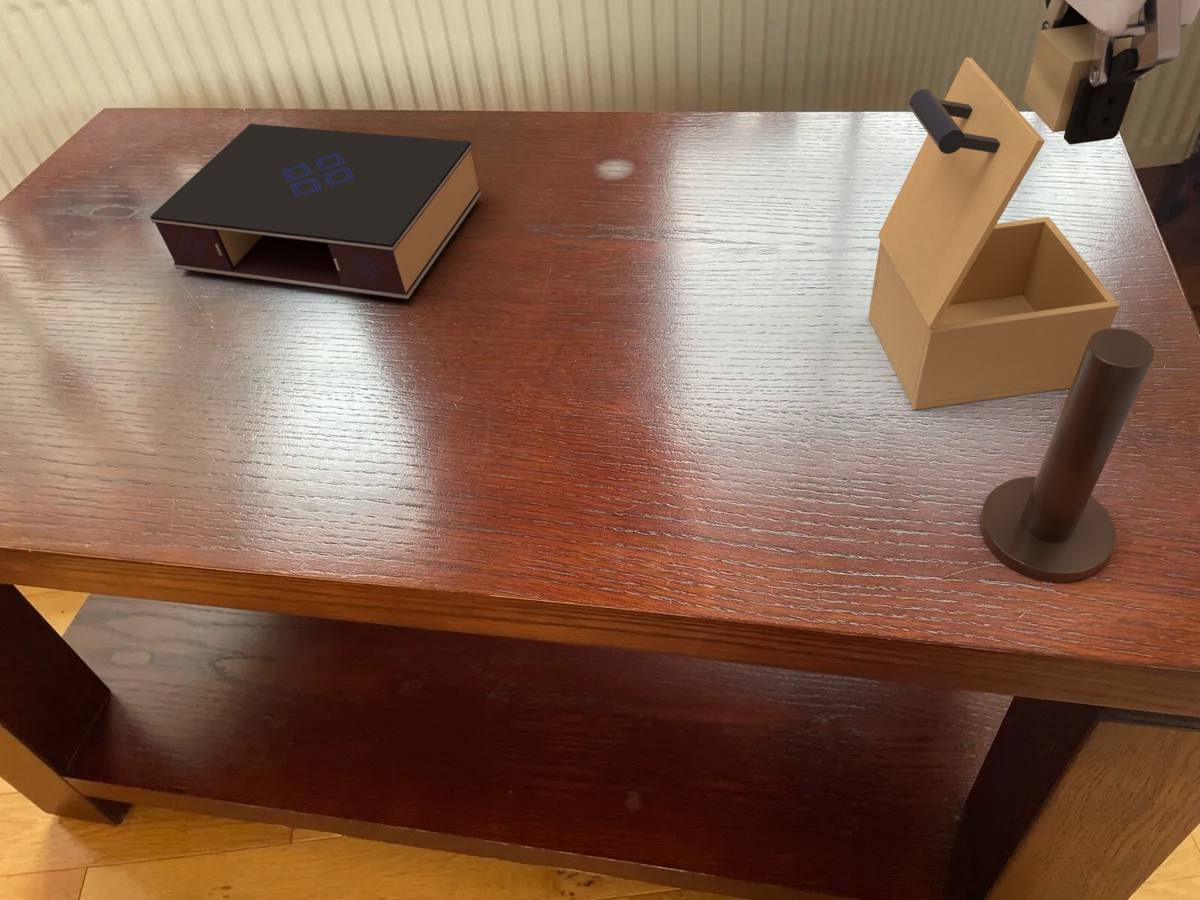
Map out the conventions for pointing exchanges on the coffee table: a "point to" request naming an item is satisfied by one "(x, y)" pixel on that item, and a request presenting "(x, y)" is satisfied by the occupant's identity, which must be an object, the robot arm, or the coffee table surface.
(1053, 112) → the block
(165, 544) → the coffee table surface
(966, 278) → the carton
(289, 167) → the black flat box
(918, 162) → the carton flap
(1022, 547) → the stand
